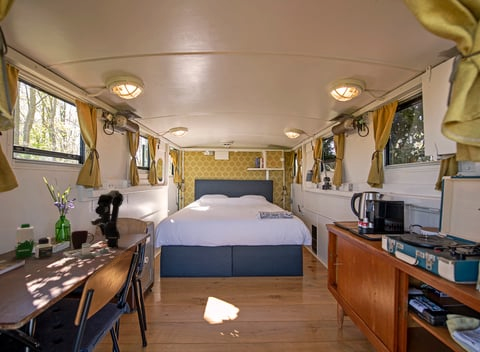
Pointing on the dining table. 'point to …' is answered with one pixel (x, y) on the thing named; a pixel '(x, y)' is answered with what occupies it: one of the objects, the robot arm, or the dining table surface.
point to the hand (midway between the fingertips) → (104, 236)
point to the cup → (79, 239)
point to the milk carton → (24, 241)
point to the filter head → (94, 254)
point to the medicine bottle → (44, 248)
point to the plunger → (103, 246)
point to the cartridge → (86, 249)
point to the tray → (72, 252)
